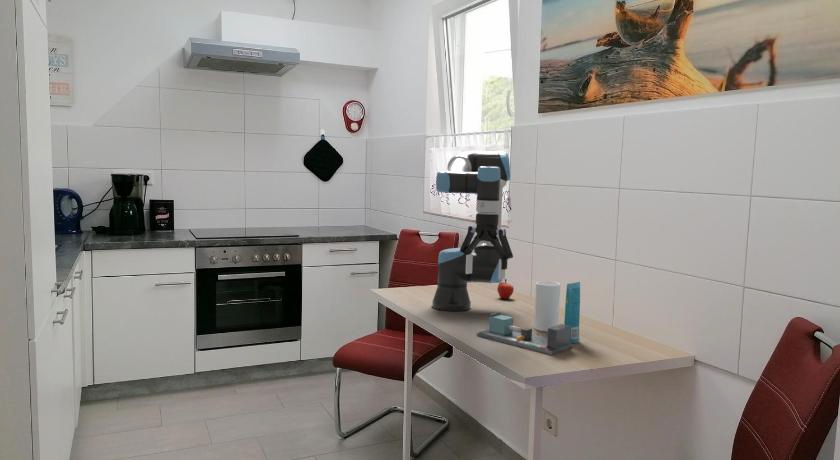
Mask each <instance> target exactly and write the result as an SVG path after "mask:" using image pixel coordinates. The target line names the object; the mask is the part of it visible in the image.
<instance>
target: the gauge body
mask: <svg viewBox="0 0 840 460" xmlns="http://www.w3.org/2000/svg"><path fill="white" fill-rule="evenodd" d="M488 329H489V332H493V333H497V334H501V335H506V334H509V333H513V331H516V332H520V333H521V331H522V329H524V328H523V327H519V326H516V325H514V317H512V316H507V315H504V314H501V312H500V311H498V312H494V313H490V314H489V319H488Z"/></svg>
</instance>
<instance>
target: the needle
mask: <svg viewBox="0 0 840 460" xmlns="http://www.w3.org/2000/svg"><path fill="white" fill-rule="evenodd" d="M532 334H533V328H530V327H524V328H523V329H522V331H521V336H519V337H517V339H516V340H517V341H519V340H522V339H525V340H527V339H530V338H532Z"/></svg>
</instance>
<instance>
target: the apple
mask: <svg viewBox="0 0 840 460" xmlns="http://www.w3.org/2000/svg"><path fill="white" fill-rule="evenodd" d="M503 281H504V282H503ZM503 281H502V282H500V283H498V285H497V289H496V290H497V293H498V295H499V298H500V299H501V298H504V299H503V300H507V298H508V299H510V298H511V296H512V295H513V293H514V290H515V289H514V286H513V285H512V284H510V283H508V282H507V279H506V278H505V279H503Z"/></svg>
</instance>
